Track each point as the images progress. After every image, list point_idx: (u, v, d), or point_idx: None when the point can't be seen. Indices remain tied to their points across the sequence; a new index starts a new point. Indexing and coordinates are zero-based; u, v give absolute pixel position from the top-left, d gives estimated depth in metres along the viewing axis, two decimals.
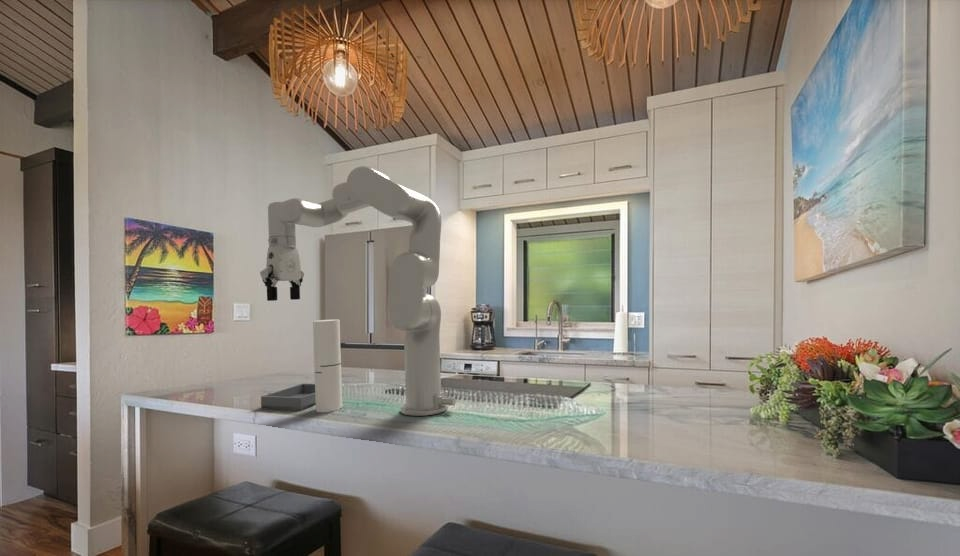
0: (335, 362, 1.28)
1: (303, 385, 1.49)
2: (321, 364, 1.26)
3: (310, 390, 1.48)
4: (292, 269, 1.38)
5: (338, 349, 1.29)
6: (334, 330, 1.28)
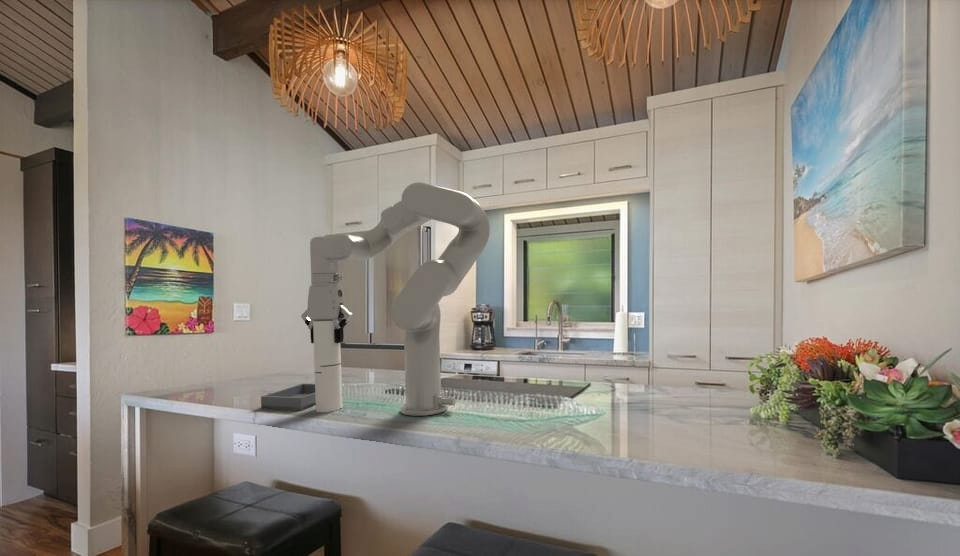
0: (335, 362, 1.28)
1: (303, 385, 1.49)
2: (321, 364, 1.26)
3: (310, 390, 1.48)
4: None
5: (338, 349, 1.29)
6: None
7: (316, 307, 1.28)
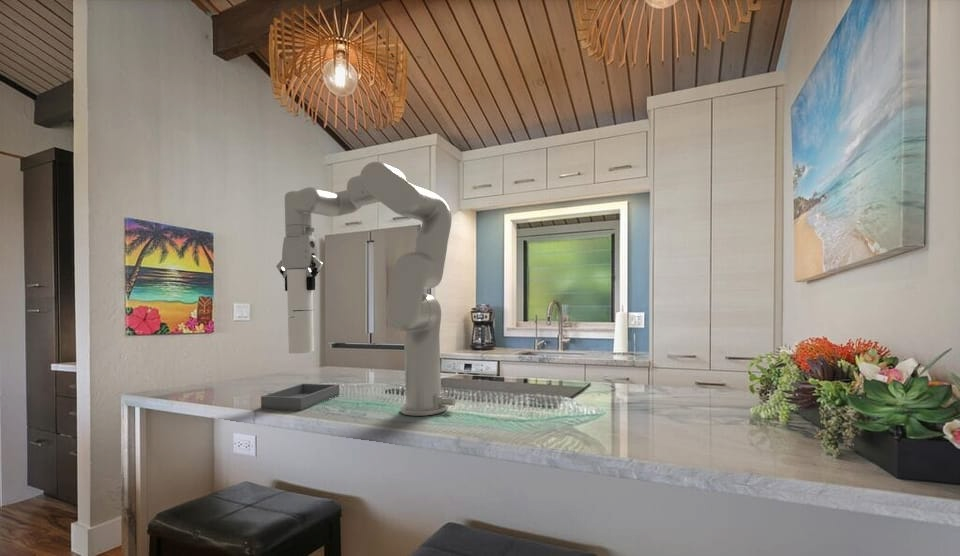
0: (307, 308, 1.37)
1: (303, 385, 1.49)
2: (294, 309, 1.36)
3: (310, 390, 1.48)
4: None
5: (310, 296, 1.39)
6: None
7: (289, 257, 1.38)
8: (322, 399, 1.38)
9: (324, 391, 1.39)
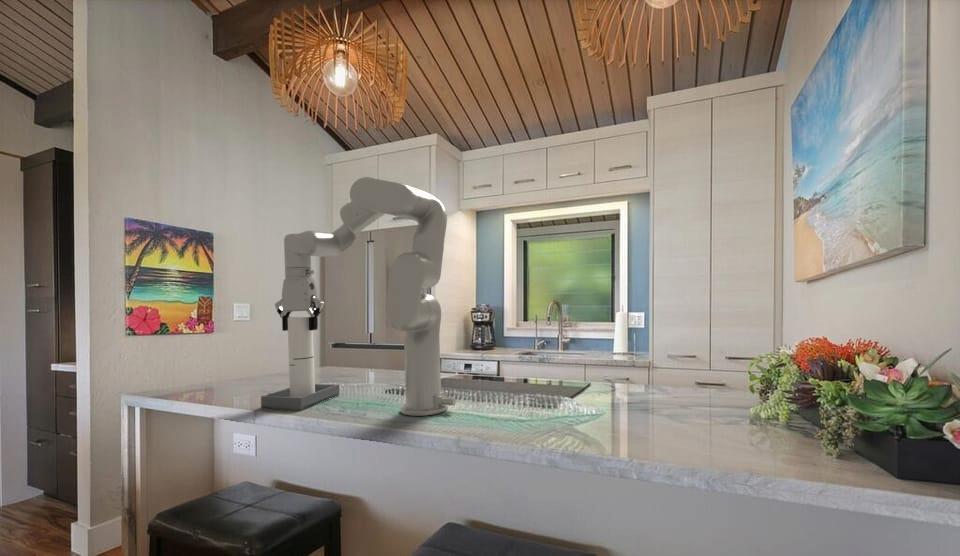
0: (308, 355, 1.38)
1: None
2: (294, 357, 1.36)
3: None
4: None
5: (311, 343, 1.39)
6: (307, 326, 1.38)
7: (289, 299, 1.38)
8: (322, 399, 1.38)
9: (324, 391, 1.39)
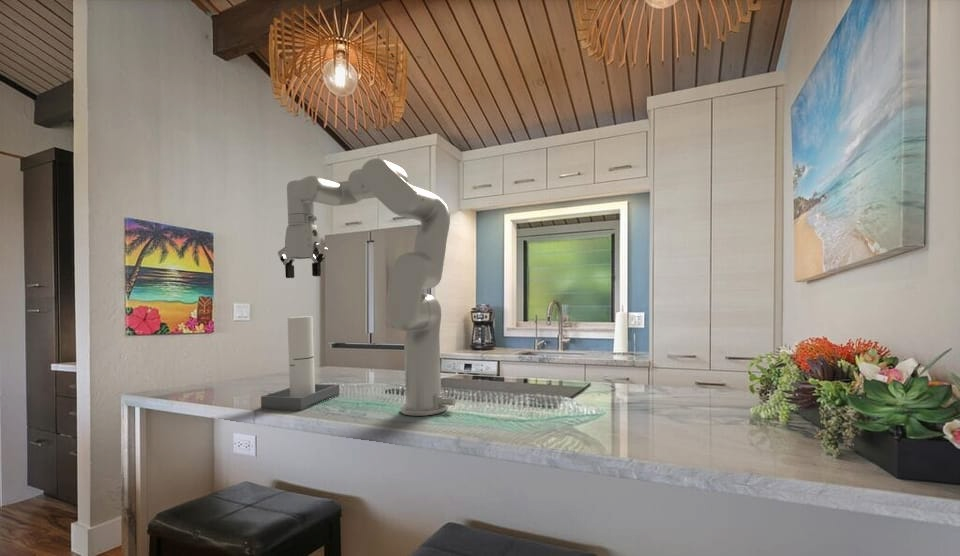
0: (308, 355, 1.38)
1: None
2: (294, 357, 1.36)
3: None
4: None
5: (311, 343, 1.39)
6: (307, 326, 1.38)
7: (292, 246, 1.39)
8: (322, 399, 1.38)
9: (324, 391, 1.39)
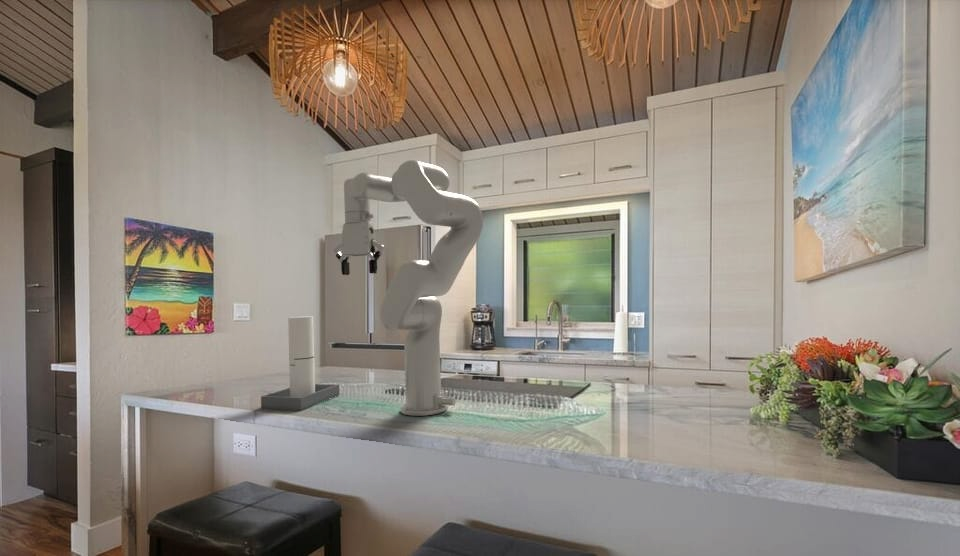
0: (308, 355, 1.38)
1: None
2: (295, 357, 1.36)
3: None
4: None
5: (311, 343, 1.39)
6: (307, 326, 1.38)
7: (349, 243, 1.40)
8: (322, 399, 1.38)
9: (324, 391, 1.39)
